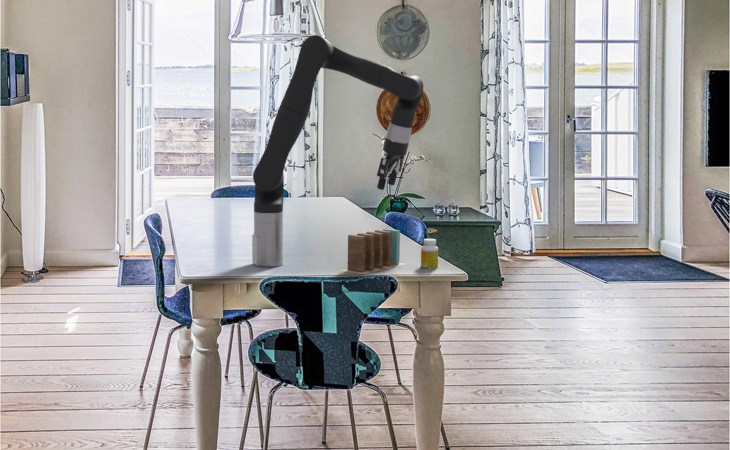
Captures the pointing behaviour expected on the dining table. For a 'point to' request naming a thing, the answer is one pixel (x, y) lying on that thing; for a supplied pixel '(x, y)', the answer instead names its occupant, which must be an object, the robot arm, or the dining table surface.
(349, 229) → the dining table surface
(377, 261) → the domino
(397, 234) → the domino
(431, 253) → the supplement bottle
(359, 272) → the domino board
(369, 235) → the domino
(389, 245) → the domino
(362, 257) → the domino
